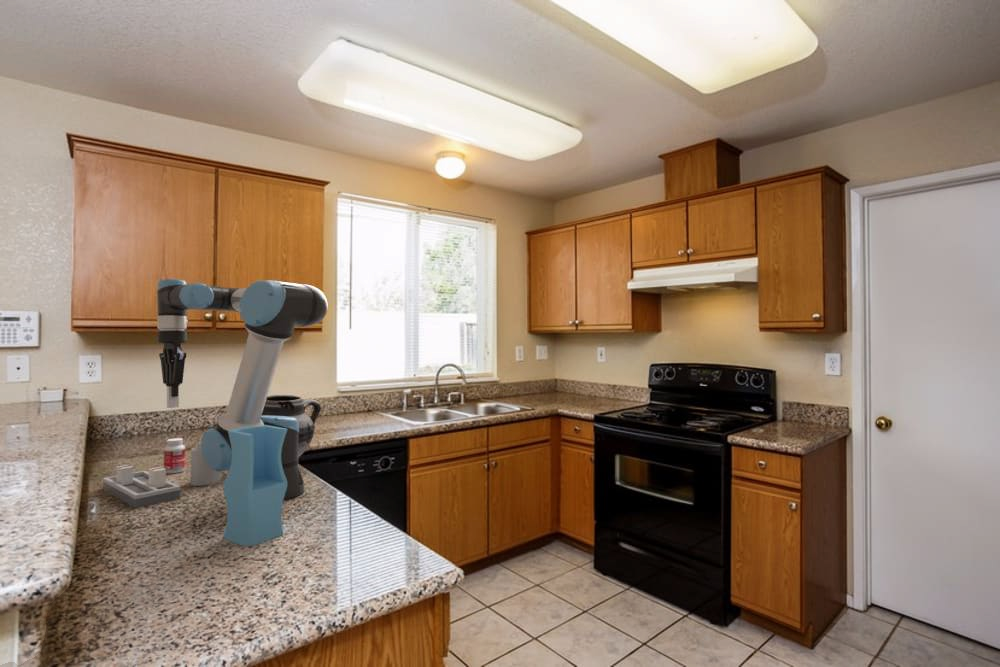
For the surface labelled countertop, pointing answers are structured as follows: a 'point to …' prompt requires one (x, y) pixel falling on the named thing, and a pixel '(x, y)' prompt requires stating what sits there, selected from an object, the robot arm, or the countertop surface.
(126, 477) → the fader
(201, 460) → the mug
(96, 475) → the countertop surface
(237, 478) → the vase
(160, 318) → the robot arm
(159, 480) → the fader
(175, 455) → the pill bottle
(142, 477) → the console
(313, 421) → the ceramic pot
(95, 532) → the countertop surface
